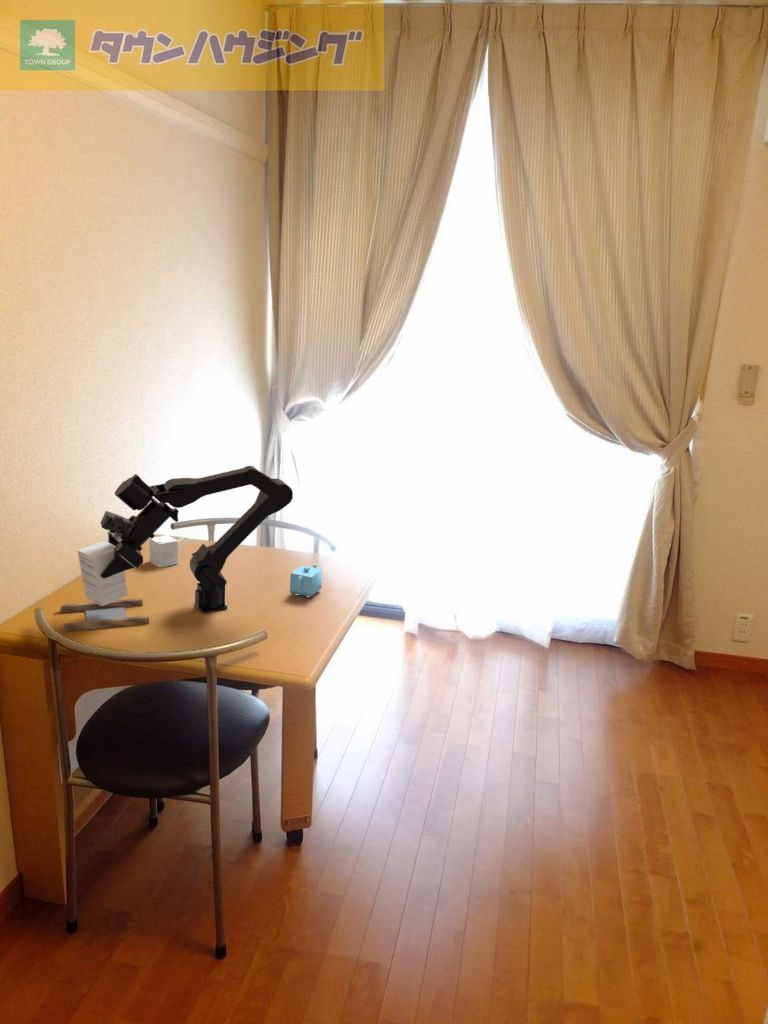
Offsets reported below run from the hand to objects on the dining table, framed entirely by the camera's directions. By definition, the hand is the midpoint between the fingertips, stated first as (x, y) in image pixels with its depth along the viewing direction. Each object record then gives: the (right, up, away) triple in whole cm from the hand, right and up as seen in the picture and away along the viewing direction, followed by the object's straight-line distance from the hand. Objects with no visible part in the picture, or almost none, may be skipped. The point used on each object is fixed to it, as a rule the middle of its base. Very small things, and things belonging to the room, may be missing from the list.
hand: (100, 570), depth 191 cm
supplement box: (+1, -7, +3) cm, 7 cm away
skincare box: (+4, -1, +42) cm, 42 cm away
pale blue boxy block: (+46, -8, +28) cm, 55 cm away
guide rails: (0, -11, +4) cm, 12 cm away
